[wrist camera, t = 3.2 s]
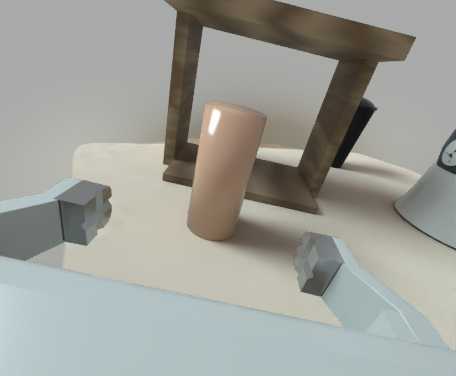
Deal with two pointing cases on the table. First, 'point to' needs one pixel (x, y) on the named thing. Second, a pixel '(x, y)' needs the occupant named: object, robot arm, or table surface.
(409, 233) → the table surface
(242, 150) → the peach tapered cylinder
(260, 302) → the table surface
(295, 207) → the under counter shelf
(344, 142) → the drinking cup
